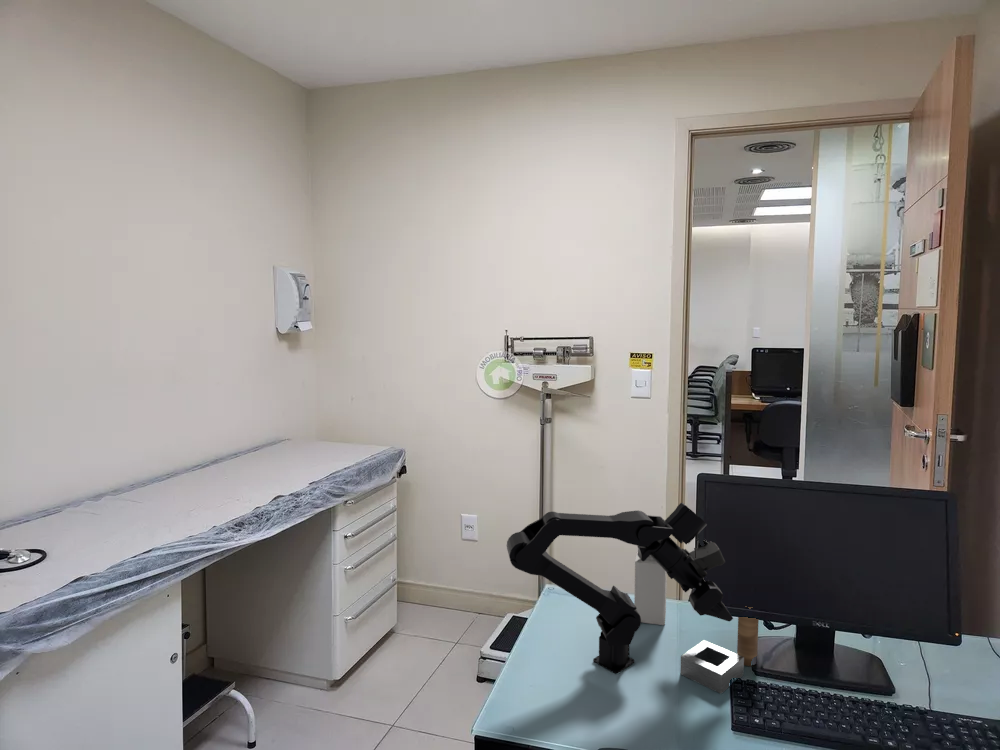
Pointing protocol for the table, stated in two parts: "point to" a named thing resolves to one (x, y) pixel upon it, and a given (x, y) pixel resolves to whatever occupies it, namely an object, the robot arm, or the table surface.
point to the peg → (747, 638)
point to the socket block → (711, 666)
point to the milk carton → (650, 591)
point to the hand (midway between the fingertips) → (724, 608)
